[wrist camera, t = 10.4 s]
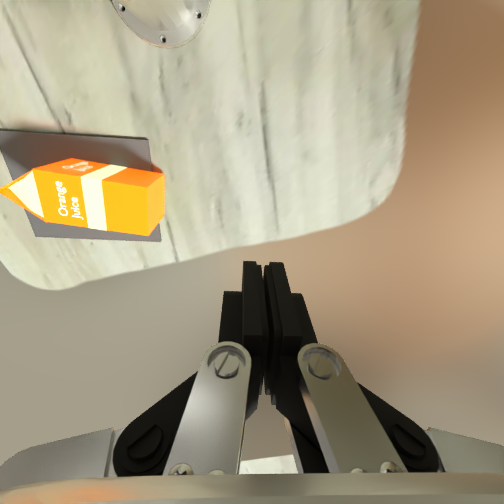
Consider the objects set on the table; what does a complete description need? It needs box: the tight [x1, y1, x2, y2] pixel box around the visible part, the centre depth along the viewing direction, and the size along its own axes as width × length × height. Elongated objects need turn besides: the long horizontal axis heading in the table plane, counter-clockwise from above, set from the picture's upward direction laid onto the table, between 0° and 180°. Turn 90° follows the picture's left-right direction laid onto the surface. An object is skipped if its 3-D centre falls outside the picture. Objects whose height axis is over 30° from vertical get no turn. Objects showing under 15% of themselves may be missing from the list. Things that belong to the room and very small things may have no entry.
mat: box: [0, 130, 161, 242], centre depth 43 cm, size 18×23×1 cm
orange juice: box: [0, 158, 164, 236], centre depth 38 cm, size 8×9×20 cm
